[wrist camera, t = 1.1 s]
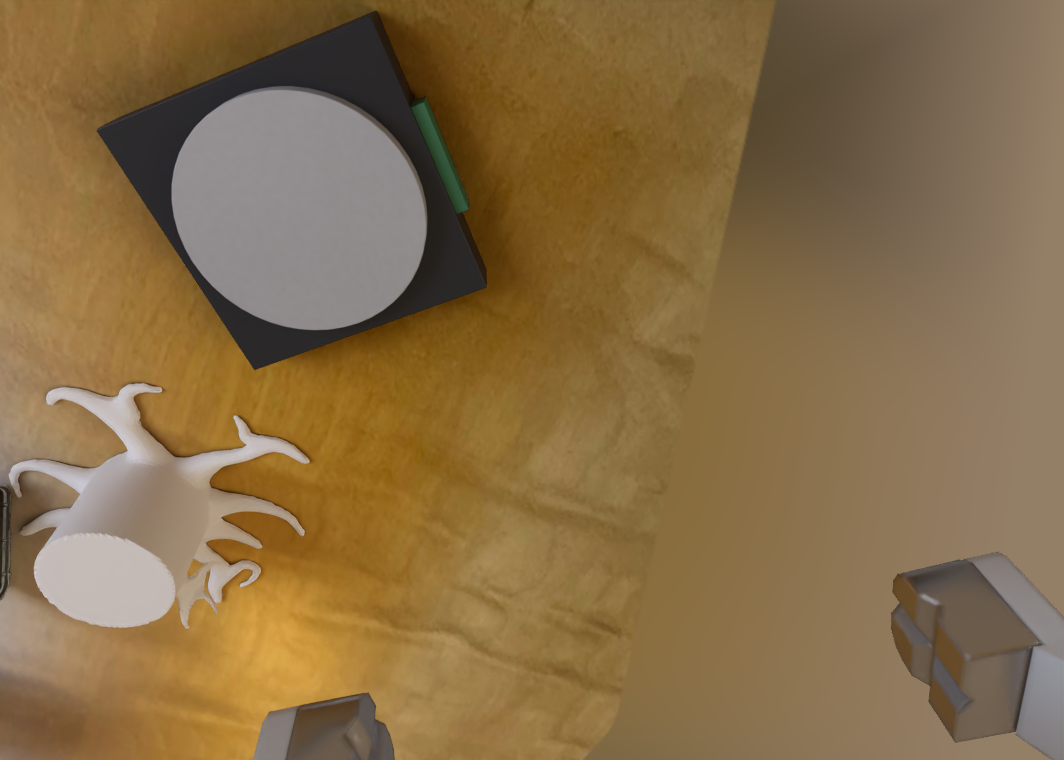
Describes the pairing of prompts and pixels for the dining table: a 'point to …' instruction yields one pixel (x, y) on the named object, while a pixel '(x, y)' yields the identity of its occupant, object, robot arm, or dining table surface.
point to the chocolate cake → (4, 539)
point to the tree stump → (142, 521)
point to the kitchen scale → (305, 192)
